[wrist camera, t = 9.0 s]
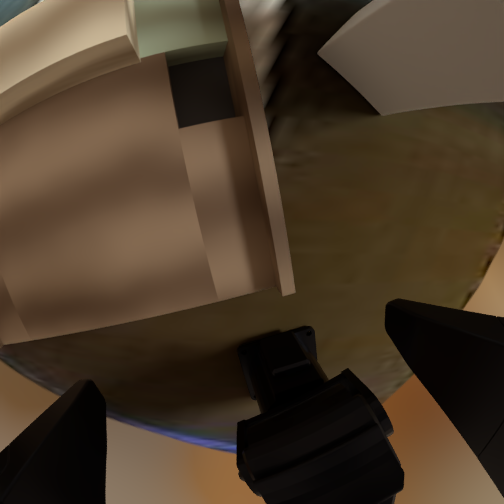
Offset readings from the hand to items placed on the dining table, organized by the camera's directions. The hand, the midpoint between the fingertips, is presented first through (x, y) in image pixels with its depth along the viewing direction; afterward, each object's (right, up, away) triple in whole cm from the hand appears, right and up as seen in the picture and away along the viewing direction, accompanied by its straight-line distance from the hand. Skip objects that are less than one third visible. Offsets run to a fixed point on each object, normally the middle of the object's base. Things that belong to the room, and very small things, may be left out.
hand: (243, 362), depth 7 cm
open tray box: (-12, +9, +9) cm, 17 cm away
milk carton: (+10, +18, +11) cm, 23 cm away
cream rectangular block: (-12, +15, +4) cm, 19 cm away
